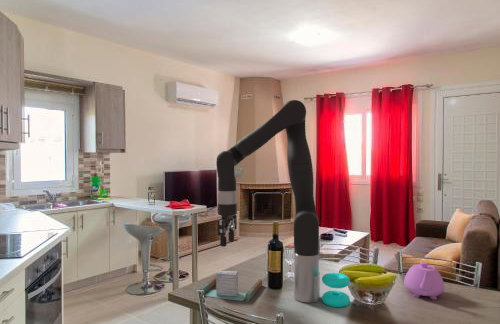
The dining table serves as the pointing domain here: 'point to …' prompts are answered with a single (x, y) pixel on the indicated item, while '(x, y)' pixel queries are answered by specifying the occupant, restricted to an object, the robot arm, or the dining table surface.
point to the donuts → (333, 296)
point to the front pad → (239, 296)
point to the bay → (248, 295)
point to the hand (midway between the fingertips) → (227, 243)
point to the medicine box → (227, 283)
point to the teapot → (424, 281)
